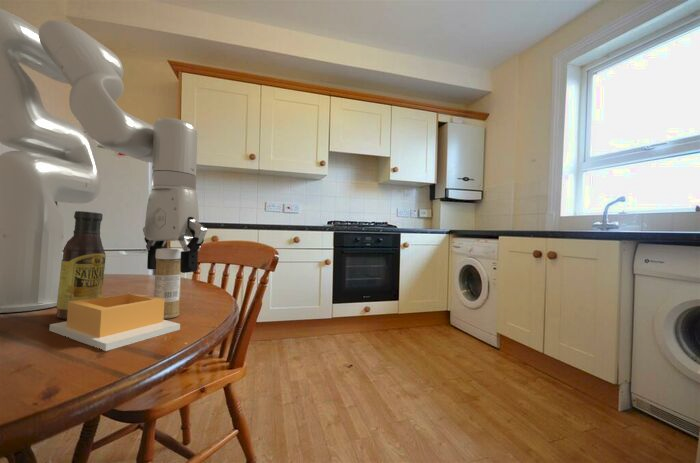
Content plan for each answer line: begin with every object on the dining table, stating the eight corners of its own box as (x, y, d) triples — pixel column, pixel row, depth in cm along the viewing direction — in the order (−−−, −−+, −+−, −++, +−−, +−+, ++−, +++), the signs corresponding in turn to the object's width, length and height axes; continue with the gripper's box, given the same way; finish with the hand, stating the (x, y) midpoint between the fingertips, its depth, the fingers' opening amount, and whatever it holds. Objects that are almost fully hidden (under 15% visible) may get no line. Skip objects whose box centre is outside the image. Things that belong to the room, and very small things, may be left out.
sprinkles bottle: (178, 312, 61) (182, 248, 61) (179, 318, 57) (183, 249, 57) (152, 315, 58) (156, 247, 59) (151, 321, 54) (155, 249, 55)
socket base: (49, 330, 47) (51, 299, 47) (124, 315, 57) (126, 289, 57) (105, 351, 41) (107, 315, 41) (179, 329, 51) (181, 300, 51)
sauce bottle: (73, 322, 52) (80, 210, 52) (46, 318, 53) (53, 209, 53) (110, 313, 58) (116, 213, 59) (85, 310, 59) (91, 212, 60)
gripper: (127, 183, 58) (124, 269, 58) (187, 177, 51) (184, 275, 51) (164, 189, 65) (162, 266, 65) (221, 184, 58) (219, 271, 58)
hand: (171, 270), depth 58 cm, fingers open, 9 cm apart
